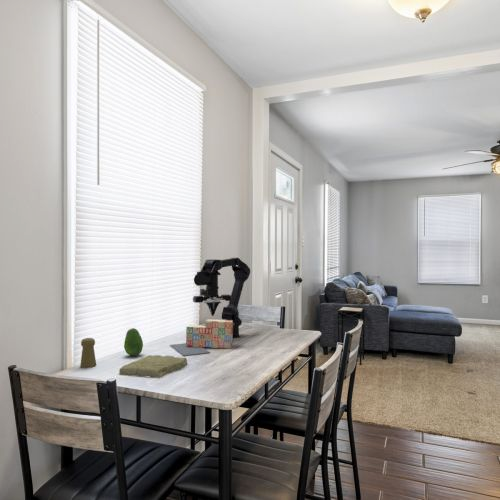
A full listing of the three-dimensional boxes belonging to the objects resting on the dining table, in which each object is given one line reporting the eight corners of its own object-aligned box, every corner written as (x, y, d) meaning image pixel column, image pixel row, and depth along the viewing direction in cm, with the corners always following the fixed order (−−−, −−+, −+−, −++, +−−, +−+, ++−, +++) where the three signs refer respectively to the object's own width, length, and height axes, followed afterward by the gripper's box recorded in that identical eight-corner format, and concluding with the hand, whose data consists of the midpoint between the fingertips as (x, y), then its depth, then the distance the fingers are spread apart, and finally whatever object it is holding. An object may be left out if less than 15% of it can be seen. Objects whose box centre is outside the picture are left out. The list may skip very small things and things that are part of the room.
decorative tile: (118, 375, 152) (118, 365, 152) (149, 361, 171) (149, 353, 171) (162, 380, 145) (162, 370, 145) (189, 365, 164) (189, 356, 164)
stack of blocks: (185, 346, 192) (186, 320, 192) (188, 344, 198) (189, 318, 198) (230, 348, 190) (231, 321, 190) (232, 345, 196) (233, 319, 196)
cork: (86, 368, 159) (86, 340, 159) (76, 366, 163) (76, 339, 163) (99, 365, 164) (99, 337, 165) (90, 363, 168) (89, 336, 168)
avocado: (126, 354, 182) (126, 327, 183) (144, 353, 183) (144, 326, 183) (122, 358, 175) (122, 330, 175) (141, 357, 175) (140, 329, 175)
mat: (193, 343, 203) (193, 342, 203) (209, 353, 182) (209, 352, 182) (169, 345, 197) (169, 344, 197) (183, 356, 177) (183, 355, 177)
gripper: (224, 282, 216) (225, 312, 216) (190, 284, 209) (190, 314, 209) (231, 284, 206) (232, 315, 206) (195, 285, 199) (196, 317, 199)
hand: (212, 315), depth 205 cm, fingers closed
